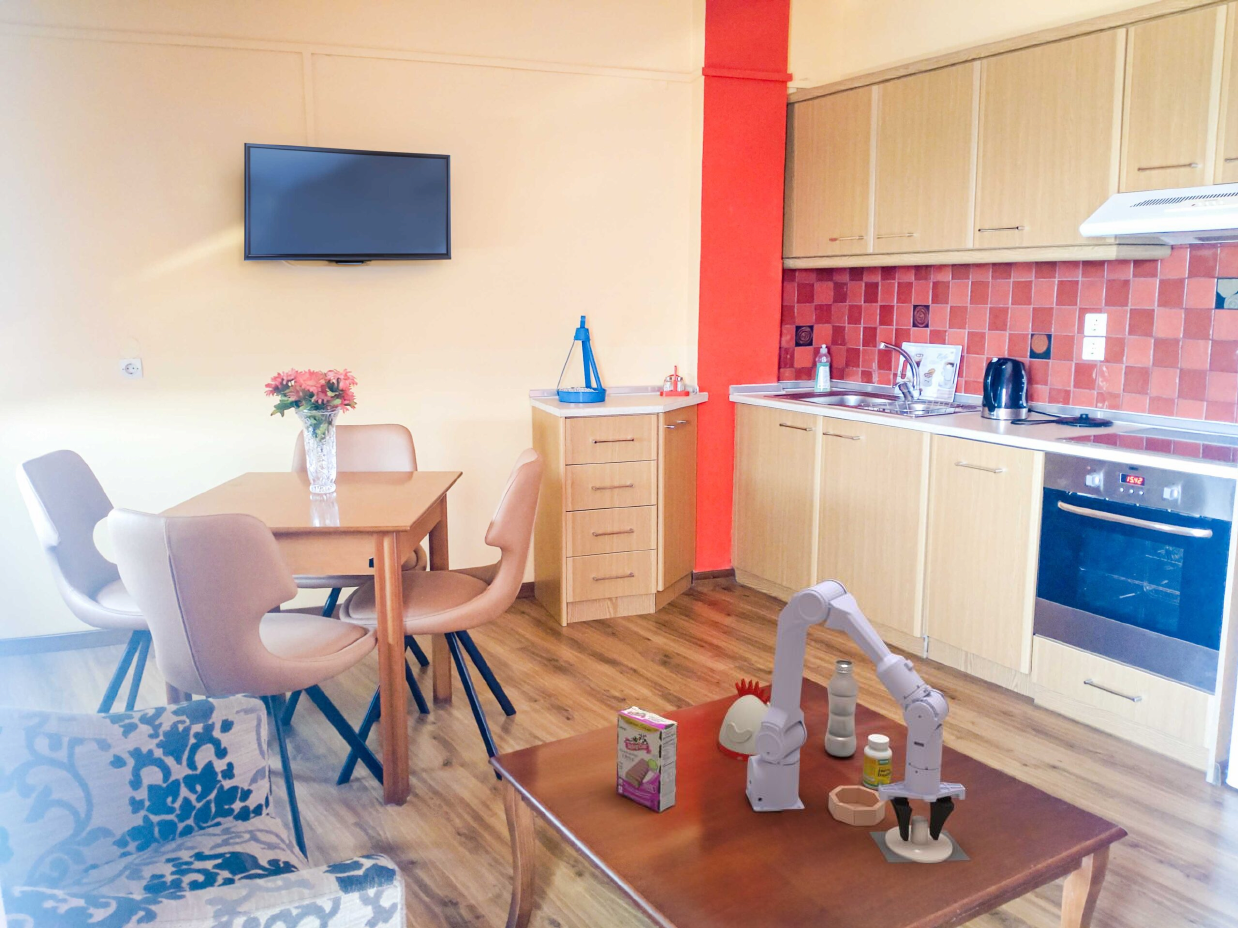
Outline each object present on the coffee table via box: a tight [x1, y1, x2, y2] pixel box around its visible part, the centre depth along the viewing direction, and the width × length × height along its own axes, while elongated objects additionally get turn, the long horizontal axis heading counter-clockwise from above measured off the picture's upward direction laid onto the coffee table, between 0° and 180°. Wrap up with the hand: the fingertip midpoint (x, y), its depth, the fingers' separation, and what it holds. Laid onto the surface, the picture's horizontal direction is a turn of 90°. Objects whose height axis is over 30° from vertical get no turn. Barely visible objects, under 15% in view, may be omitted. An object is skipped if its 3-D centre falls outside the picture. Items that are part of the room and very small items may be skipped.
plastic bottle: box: [824, 659, 860, 758], centre depth 203 cm, size 6×7×20 cm
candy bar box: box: [616, 705, 678, 813], centre depth 182 cm, size 11×5×16 cm, turn 47°
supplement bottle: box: [862, 733, 893, 791], centre depth 190 cm, size 5×5×10 cm
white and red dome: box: [718, 677, 771, 763], centre depth 206 cm, size 14×14×15 cm
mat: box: [868, 829, 971, 864], centre depth 167 cm, size 14×10×1 cm
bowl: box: [828, 785, 886, 827], centre depth 178 cm, size 9×9×4 cm
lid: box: [885, 814, 952, 864], centre depth 166 cm, size 11×11×5 cm
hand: (918, 837), depth 166 cm, fingers open, 5 cm apart
